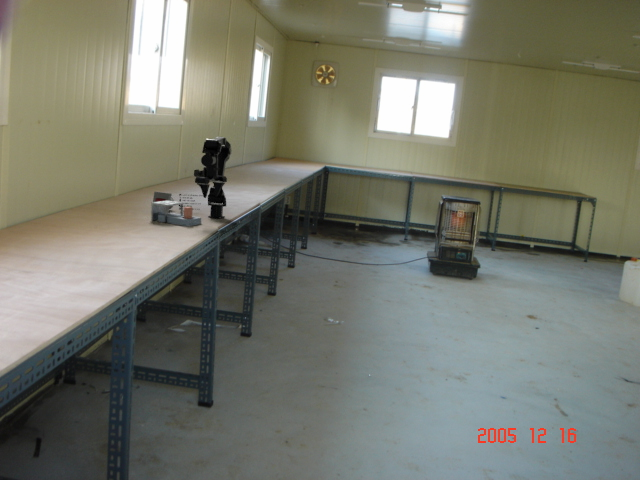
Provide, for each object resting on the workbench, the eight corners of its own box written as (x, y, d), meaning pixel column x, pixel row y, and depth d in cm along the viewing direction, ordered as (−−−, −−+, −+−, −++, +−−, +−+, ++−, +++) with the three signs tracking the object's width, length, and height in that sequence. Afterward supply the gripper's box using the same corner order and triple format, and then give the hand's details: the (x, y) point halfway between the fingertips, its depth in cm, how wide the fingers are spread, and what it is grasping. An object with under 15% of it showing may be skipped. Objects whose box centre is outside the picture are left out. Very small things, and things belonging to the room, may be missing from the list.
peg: (187, 222, 284) (187, 206, 282) (193, 224, 282) (194, 207, 280) (181, 223, 280) (182, 207, 278) (188, 225, 278) (189, 208, 277)
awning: (168, 217, 294) (168, 200, 292) (183, 220, 290) (183, 202, 288) (150, 220, 283) (151, 202, 281) (166, 223, 279) (166, 204, 277)
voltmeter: (151, 211, 308) (151, 193, 306) (151, 208, 318) (152, 190, 317) (202, 213, 315) (203, 195, 313) (201, 210, 325) (202, 192, 324)
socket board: (171, 218, 291) (171, 212, 291) (201, 223, 284) (201, 217, 283) (158, 221, 282) (158, 215, 282) (187, 226, 275) (188, 220, 274)
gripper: (209, 163, 296) (208, 193, 299) (186, 164, 280) (185, 196, 283) (228, 165, 292) (226, 196, 295) (205, 166, 275) (204, 199, 278)
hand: (210, 197), depth 288 cm, fingers open, 9 cm apart
